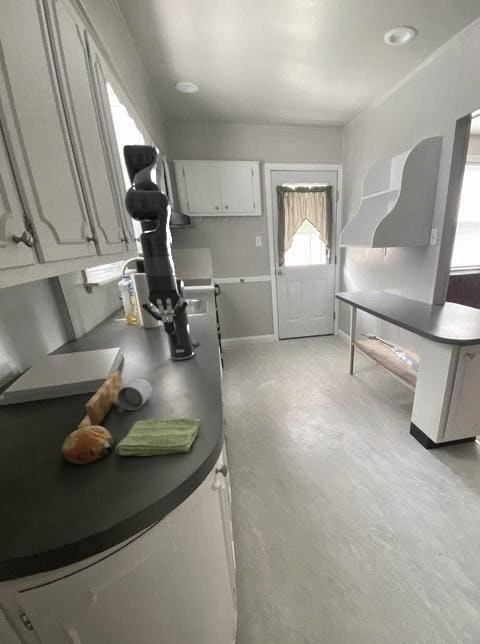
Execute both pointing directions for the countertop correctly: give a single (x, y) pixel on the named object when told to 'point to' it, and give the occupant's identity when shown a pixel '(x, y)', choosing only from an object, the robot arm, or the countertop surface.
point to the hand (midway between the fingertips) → (170, 333)
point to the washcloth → (159, 437)
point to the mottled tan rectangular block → (102, 401)
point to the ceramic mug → (134, 394)
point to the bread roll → (87, 444)
